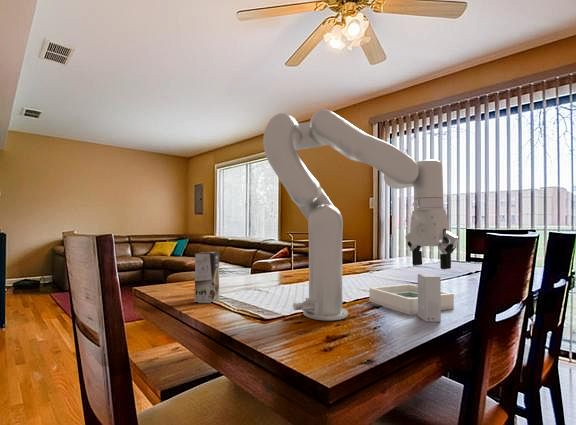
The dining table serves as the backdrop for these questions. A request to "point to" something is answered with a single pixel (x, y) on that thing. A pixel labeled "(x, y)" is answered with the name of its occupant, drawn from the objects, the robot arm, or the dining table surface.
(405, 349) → the dining table surface
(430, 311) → the skincare box
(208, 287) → the coffee box
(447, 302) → the tray
